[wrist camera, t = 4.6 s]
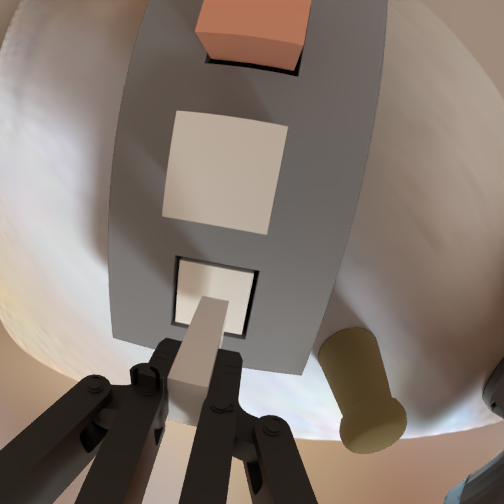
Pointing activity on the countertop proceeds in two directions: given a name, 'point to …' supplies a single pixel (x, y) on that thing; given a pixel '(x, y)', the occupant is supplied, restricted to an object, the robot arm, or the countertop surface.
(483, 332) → the countertop surface
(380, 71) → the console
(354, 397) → the cork
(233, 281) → the cream square button
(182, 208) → the cream white cube
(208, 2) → the terracotta button
